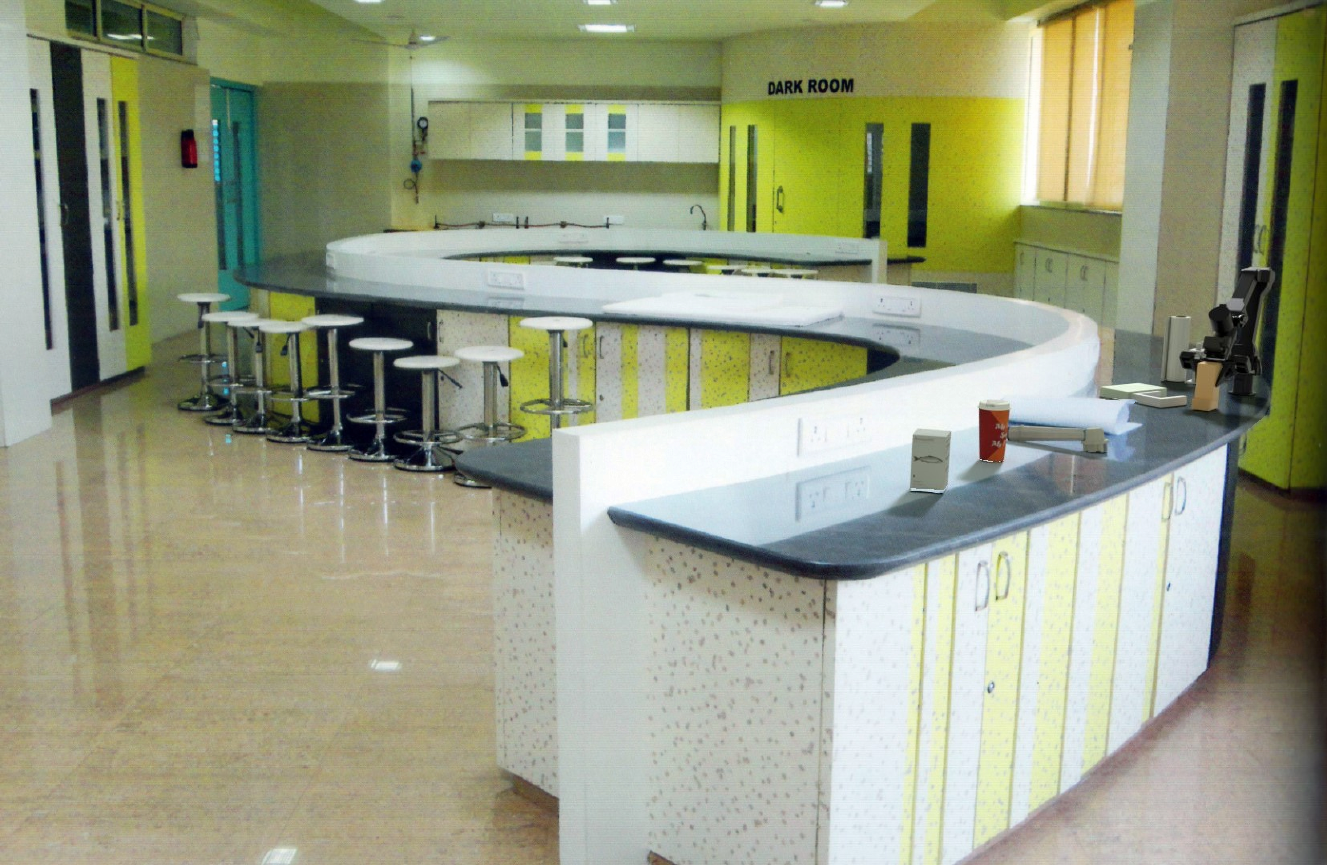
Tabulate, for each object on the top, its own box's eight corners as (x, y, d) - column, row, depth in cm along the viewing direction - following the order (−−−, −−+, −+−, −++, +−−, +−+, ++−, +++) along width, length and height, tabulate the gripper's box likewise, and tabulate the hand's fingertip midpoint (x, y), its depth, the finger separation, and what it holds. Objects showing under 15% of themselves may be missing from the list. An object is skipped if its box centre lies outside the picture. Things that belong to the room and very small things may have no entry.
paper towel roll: (1187, 380, 395) (1192, 316, 390) (1184, 382, 390) (1189, 317, 385) (1164, 378, 398) (1169, 314, 394) (1160, 381, 393) (1165, 316, 389)
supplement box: (908, 492, 253) (911, 434, 250) (914, 484, 260) (916, 427, 257) (944, 495, 250) (946, 436, 248) (949, 486, 257) (951, 429, 254)
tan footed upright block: (1199, 405, 348) (1203, 361, 345) (1217, 407, 344) (1221, 363, 342) (1191, 408, 343) (1195, 364, 340) (1209, 411, 339) (1213, 366, 336)
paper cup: (1003, 465, 277) (1006, 406, 274) (970, 461, 280) (973, 403, 278) (1012, 458, 283) (1015, 400, 280) (980, 455, 287) (983, 397, 284)
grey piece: (1013, 423, 306) (1110, 422, 289) (1014, 449, 306) (1112, 449, 290) (1004, 426, 302) (1102, 425, 286) (1006, 452, 303) (1104, 452, 286)
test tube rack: (1198, 385, 386) (1202, 344, 383) (1184, 383, 389) (1187, 343, 386) (1225, 376, 403) (1228, 337, 401) (1211, 374, 406) (1215, 336, 404)
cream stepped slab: (1137, 392, 372) (1138, 382, 371) (1195, 403, 353) (1196, 393, 352) (1099, 396, 365) (1100, 386, 365) (1156, 408, 346) (1157, 397, 345)
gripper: (1184, 323, 348) (1167, 365, 343) (1251, 328, 336) (1235, 371, 330) (1191, 347, 356) (1174, 388, 350) (1257, 352, 343) (1242, 395, 338)
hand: (1206, 385), depth 342 cm, fingers closed on tan footed upright block, 5 cm apart
